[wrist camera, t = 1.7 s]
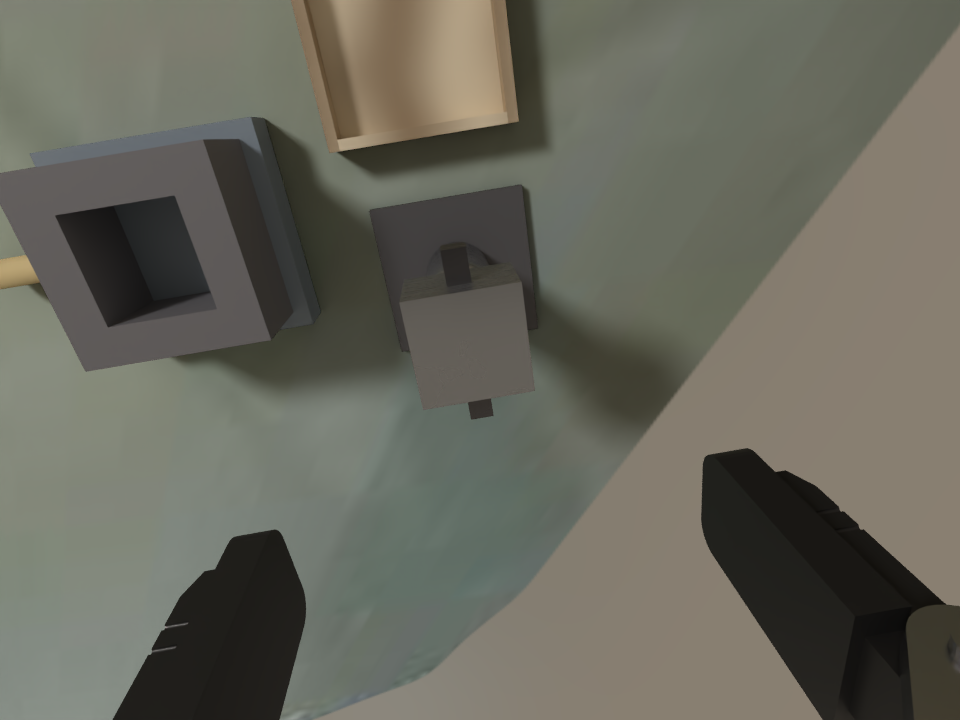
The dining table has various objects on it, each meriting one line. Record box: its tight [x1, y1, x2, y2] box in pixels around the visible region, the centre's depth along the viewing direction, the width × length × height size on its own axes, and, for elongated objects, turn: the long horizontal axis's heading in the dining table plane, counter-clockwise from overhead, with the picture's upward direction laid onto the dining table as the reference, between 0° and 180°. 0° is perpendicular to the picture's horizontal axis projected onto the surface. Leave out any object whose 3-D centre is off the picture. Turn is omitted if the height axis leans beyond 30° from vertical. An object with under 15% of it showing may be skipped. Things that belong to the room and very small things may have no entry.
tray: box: [291, 0, 519, 153], centre depth 23 cm, size 9×9×2 cm
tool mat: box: [369, 185, 538, 352], centre depth 29 cm, size 8×8×1 cm
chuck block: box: [0, 117, 321, 371], centre depth 24 cm, size 15×10×6 cm, turn 99°
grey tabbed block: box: [399, 241, 535, 419], centre depth 23 cm, size 4×7×11 cm, turn 9°
